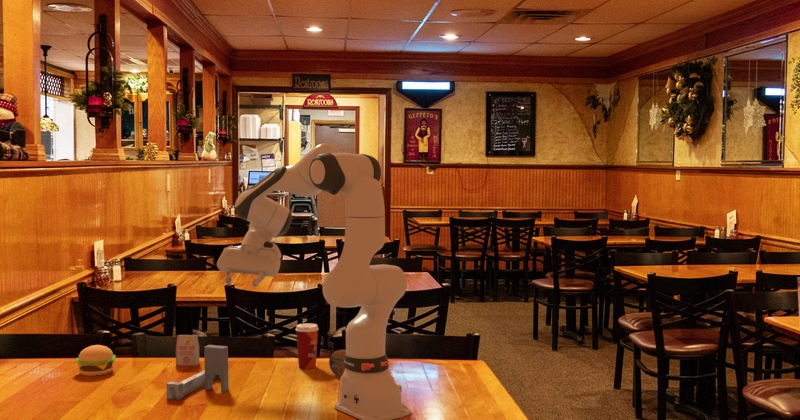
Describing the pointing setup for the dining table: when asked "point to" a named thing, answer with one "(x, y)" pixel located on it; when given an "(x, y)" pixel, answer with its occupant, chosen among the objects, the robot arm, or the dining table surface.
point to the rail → (187, 385)
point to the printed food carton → (187, 350)
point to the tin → (337, 362)
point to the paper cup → (307, 345)
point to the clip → (216, 365)
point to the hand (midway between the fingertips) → (240, 284)
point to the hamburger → (95, 360)
